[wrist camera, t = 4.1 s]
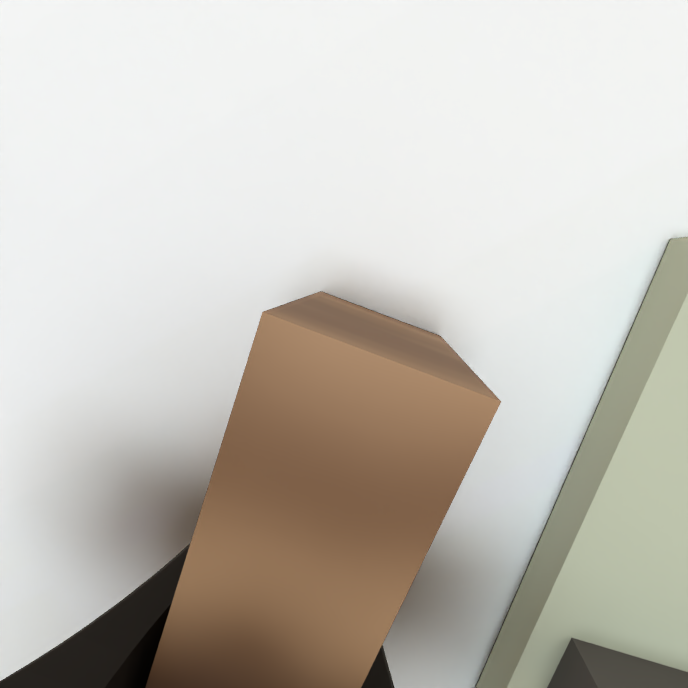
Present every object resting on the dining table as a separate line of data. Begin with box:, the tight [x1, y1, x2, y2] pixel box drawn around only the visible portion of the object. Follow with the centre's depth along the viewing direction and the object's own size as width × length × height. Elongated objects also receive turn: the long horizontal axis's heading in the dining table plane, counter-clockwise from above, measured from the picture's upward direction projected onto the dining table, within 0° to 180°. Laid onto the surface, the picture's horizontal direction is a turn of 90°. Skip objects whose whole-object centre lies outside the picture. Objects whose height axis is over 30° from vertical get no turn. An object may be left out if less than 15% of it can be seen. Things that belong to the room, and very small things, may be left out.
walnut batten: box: [145, 291, 501, 688], centre depth 9 cm, size 16×3×5 cm, turn 160°
